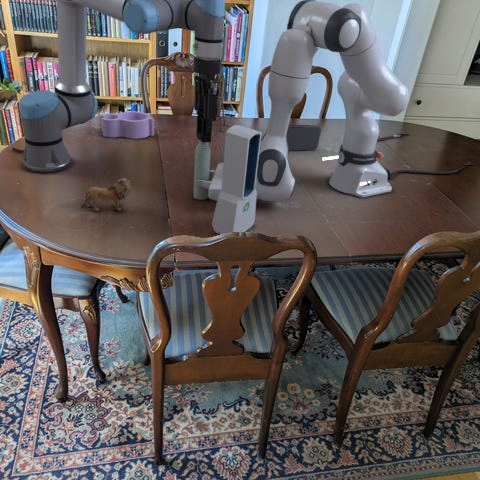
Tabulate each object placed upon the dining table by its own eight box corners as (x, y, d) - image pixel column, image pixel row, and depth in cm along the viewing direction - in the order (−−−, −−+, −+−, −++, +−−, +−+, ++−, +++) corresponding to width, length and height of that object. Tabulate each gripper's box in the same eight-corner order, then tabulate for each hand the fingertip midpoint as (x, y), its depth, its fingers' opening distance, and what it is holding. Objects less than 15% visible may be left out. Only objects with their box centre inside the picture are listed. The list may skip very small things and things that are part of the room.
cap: (212, 139, 140) (213, 134, 139) (203, 142, 137) (203, 137, 137) (204, 135, 142) (204, 130, 141) (194, 138, 140) (194, 133, 139)
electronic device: (232, 242, 129) (242, 138, 113) (210, 232, 132) (217, 130, 116) (255, 224, 138) (267, 126, 122) (233, 216, 141) (243, 119, 125)
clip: (103, 139, 182) (102, 122, 178) (101, 128, 192) (100, 111, 188) (155, 138, 188) (155, 121, 184) (150, 127, 198) (149, 111, 194)
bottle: (204, 192, 153) (208, 133, 142) (210, 198, 149) (213, 138, 139) (191, 194, 151) (193, 134, 140) (196, 200, 148) (199, 139, 137)
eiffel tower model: (220, 131, 201) (226, 58, 185) (202, 128, 202) (205, 55, 186) (225, 124, 209) (231, 54, 193) (207, 122, 210) (211, 51, 194)
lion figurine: (130, 201, 143) (129, 174, 138) (133, 209, 139) (132, 182, 134) (79, 205, 138) (76, 178, 133) (81, 214, 134) (78, 186, 129)
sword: (406, 132, 223) (406, 130, 222) (411, 134, 221) (412, 132, 220) (362, 144, 207) (363, 141, 206) (368, 146, 205) (368, 143, 204)
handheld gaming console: (315, 147, 196) (319, 124, 190) (317, 149, 194) (322, 126, 188) (264, 149, 189) (267, 125, 183) (266, 152, 187) (269, 127, 181)
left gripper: (184, 50, 132) (182, 130, 144) (206, 65, 119) (201, 150, 132) (209, 50, 135) (205, 128, 147) (232, 64, 122) (226, 148, 135)
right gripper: (246, 161, 153) (205, 155, 154) (239, 188, 136) (192, 182, 137) (244, 178, 157) (204, 173, 157) (237, 207, 139) (192, 201, 140)
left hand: (203, 138), depth 140 cm, fingers closed on cap, 4 cm apart
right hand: (198, 177), depth 147 cm, fingers closed on bottle, 5 cm apart
